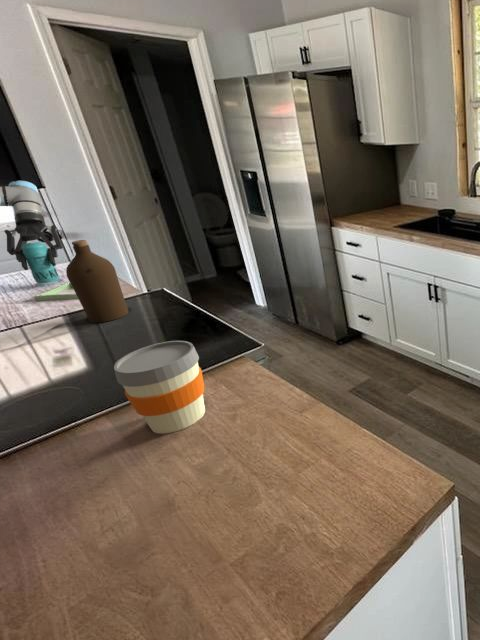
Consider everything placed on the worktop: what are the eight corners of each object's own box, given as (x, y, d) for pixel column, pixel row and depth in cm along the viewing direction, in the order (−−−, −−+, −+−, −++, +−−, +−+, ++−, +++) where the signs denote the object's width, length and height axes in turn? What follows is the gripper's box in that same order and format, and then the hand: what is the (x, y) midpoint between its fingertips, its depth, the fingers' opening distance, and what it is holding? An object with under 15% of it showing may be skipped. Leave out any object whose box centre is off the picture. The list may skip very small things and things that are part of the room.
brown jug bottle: (139, 312, 135) (111, 238, 126) (101, 326, 125) (67, 247, 116) (117, 308, 138) (88, 235, 129) (78, 321, 129) (44, 244, 119)
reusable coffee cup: (223, 416, 85) (202, 354, 80) (145, 450, 77) (116, 382, 71) (206, 392, 93) (186, 334, 88) (134, 420, 84) (107, 357, 79)
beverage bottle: (33, 286, 158) (9, 236, 150) (54, 280, 164) (32, 231, 156) (45, 288, 156) (22, 237, 149) (66, 282, 162) (45, 232, 155)
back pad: (36, 302, 143) (33, 296, 142) (71, 288, 156) (68, 282, 155) (80, 300, 144) (77, 294, 144) (110, 286, 157) (107, 280, 156)
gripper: (68, 218, 169) (79, 265, 163) (-4, 226, 157) (5, 276, 151) (60, 207, 163) (71, 255, 157) (-15, 214, 151) (-6, 266, 146)
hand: (39, 266), depth 154 cm, fingers closed on beverage bottle, 7 cm apart
